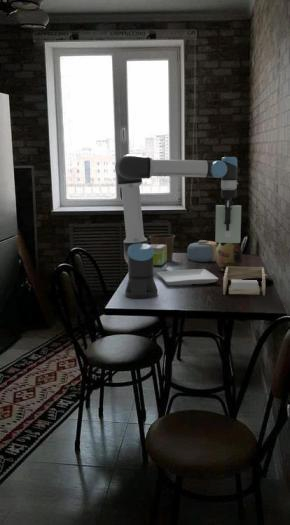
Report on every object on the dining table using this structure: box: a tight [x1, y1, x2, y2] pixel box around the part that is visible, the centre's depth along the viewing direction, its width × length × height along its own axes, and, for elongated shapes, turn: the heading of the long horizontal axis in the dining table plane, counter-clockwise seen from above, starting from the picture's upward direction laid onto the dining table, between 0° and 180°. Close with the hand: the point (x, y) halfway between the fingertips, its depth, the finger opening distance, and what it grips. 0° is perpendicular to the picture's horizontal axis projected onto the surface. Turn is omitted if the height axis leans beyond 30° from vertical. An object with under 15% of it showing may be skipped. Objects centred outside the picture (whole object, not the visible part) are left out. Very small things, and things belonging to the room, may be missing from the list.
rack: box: [222, 266, 266, 296], centre depth 258 cm, size 32×19×7 cm, turn 169°
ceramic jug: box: [215, 243, 243, 272], centre depth 298 cm, size 17×15×30 cm
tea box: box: [150, 243, 168, 274], centre depth 301 cm, size 15×10×15 cm
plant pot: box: [148, 234, 176, 263], centre depth 333 cm, size 16×16×16 cm
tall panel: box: [214, 204, 242, 244], centre depth 260 cm, size 5×12×18 cm, turn 78°
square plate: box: [155, 268, 219, 287], centre depth 275 cm, size 27×27×4 cm
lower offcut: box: [228, 284, 261, 295], centre depth 247 cm, size 7×14×3 cm, turn 81°
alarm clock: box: [187, 239, 218, 263], centre depth 337 cm, size 19×20×12 cm
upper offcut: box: [230, 279, 259, 289], centre depth 246 cm, size 7×12×3 cm, turn 83°
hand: (227, 236), depth 261 cm, fingers closed on tall panel, 5 cm apart
